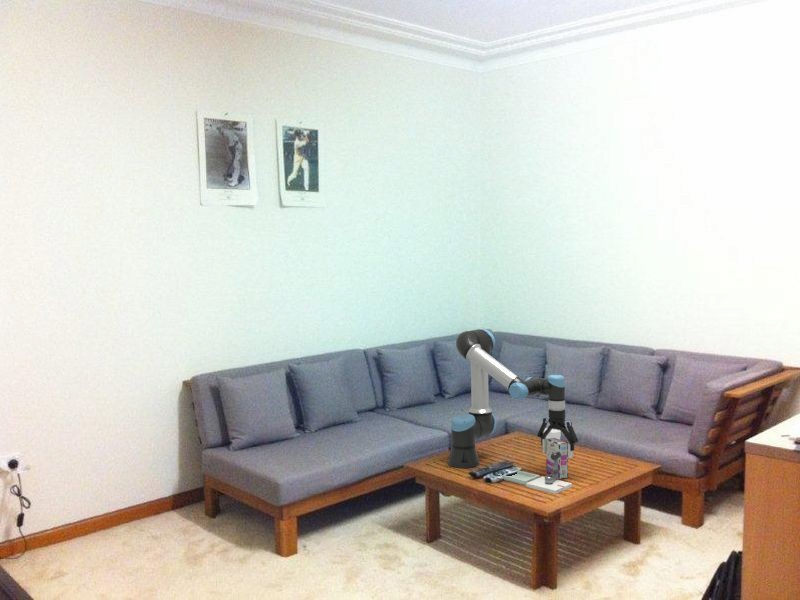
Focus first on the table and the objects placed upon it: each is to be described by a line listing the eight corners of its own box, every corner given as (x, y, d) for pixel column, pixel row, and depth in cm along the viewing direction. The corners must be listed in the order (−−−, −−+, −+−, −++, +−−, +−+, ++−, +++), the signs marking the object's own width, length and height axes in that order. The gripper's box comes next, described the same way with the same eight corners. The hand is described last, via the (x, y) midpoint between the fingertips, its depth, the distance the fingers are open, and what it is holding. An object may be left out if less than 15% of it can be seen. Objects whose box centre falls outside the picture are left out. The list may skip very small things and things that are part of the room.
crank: (550, 484, 314) (550, 458, 313) (543, 482, 316) (543, 457, 315) (562, 477, 323) (562, 452, 322) (554, 476, 325) (554, 451, 324)
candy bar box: (568, 478, 328) (568, 442, 327) (559, 479, 326) (559, 443, 325) (555, 471, 338) (554, 437, 337) (545, 472, 336) (545, 438, 335)
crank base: (526, 486, 317) (526, 482, 317) (542, 479, 326) (542, 475, 326) (555, 494, 307) (555, 490, 307) (571, 486, 316) (571, 482, 316)
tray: (494, 477, 331) (494, 473, 330) (508, 472, 338) (508, 468, 338) (525, 485, 319) (525, 481, 319) (539, 479, 326) (539, 475, 326)
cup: (537, 447, 380) (537, 429, 379) (553, 445, 384) (553, 427, 383) (549, 452, 371) (549, 433, 370) (565, 449, 375) (565, 431, 374)
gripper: (585, 411, 324) (586, 457, 325) (538, 404, 342) (539, 448, 343) (576, 414, 319) (577, 461, 320) (529, 407, 336) (530, 452, 337)
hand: (557, 455), depth 331 cm, fingers open, 13 cm apart
